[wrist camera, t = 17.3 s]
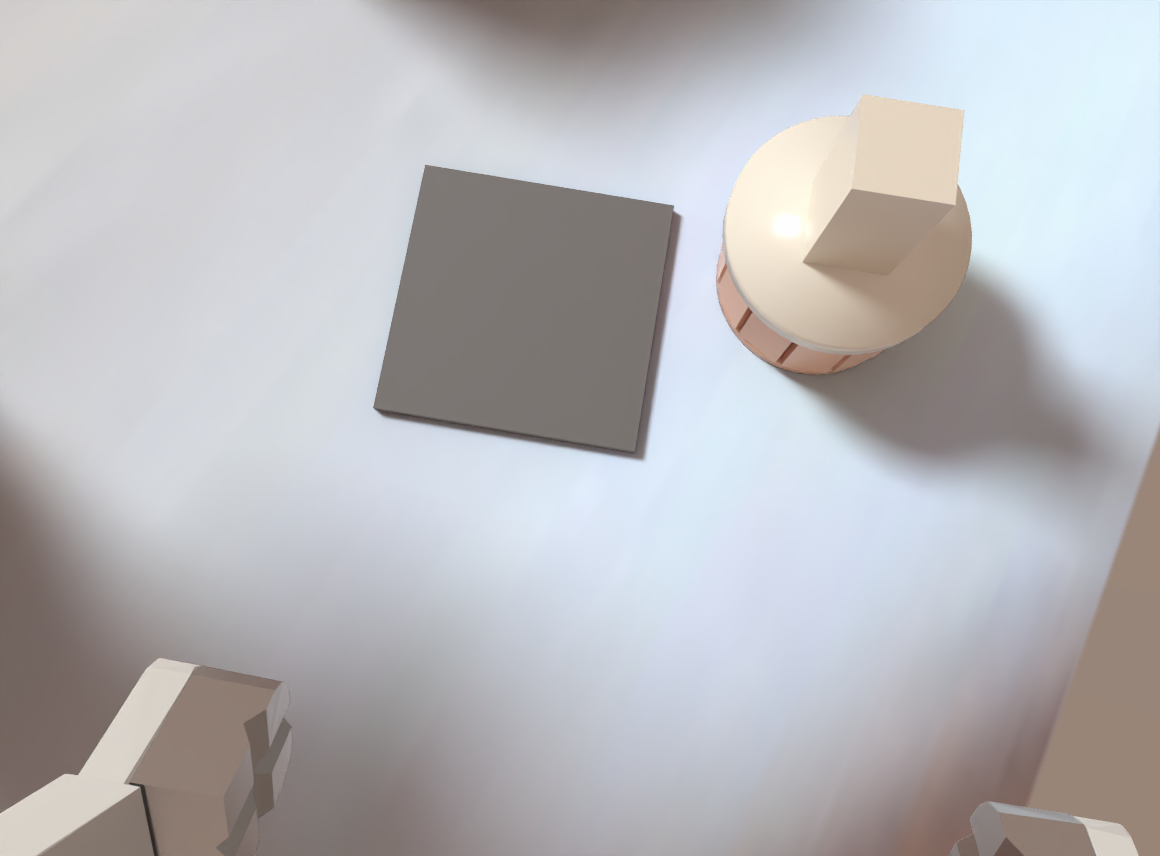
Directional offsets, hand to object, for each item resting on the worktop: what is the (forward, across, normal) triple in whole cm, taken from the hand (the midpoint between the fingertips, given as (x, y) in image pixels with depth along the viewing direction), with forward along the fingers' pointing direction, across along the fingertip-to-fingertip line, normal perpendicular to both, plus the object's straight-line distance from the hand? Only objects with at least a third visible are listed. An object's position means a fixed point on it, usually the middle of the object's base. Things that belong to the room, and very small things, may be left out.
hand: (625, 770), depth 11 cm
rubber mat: (+33, +5, +11) cm, 35 cm away
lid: (+32, -8, +5) cm, 33 cm away
